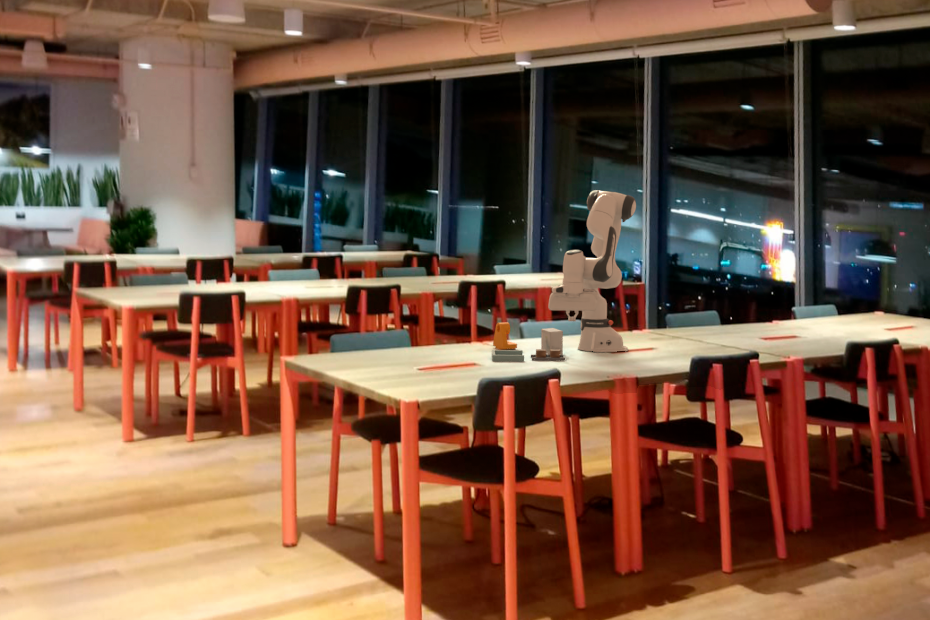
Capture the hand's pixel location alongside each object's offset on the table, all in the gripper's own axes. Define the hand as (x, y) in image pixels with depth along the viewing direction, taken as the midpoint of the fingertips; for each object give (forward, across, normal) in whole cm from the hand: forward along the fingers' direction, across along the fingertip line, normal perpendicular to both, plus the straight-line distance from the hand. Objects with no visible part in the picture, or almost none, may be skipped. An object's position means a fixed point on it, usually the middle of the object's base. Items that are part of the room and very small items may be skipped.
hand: (572, 321), depth 433 cm
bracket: (+17, +27, -29) cm, 43 cm away
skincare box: (+16, +7, -17) cm, 25 cm away
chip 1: (+16, +13, 0) cm, 21 cm away
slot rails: (+16, +10, 0) cm, 19 cm away
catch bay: (+16, +26, 0) cm, 31 cm away
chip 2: (+16, +7, 0) cm, 18 cm away
